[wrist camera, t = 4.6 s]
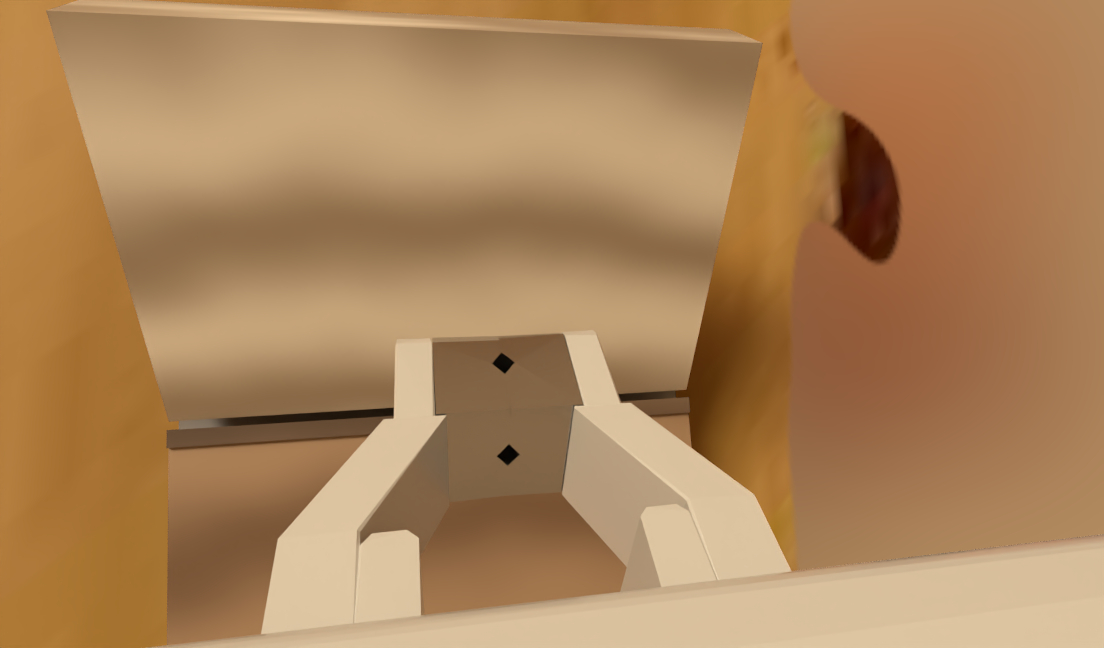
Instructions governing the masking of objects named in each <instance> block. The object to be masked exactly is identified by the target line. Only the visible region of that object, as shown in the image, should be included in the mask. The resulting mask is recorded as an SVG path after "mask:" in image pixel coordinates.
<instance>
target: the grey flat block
mask: <svg viewBox="0 0 1104 648" xmlns="http://www.w3.org/2000/svg"><path fill="white" fill-rule="evenodd" d="M618 395H619V398H620V401H621V403H632V404H633V405H635V406H636V407H637V408H639V409H640V410H641V411H643V412H644V413H645V414H647V415H648V416H649V417H651V418H652V419H653V420H655V421H656V422H657V423H659V424H660V425H661V426H663V427H664V428H665V429H667V430H668V431H669V432H671V433H672V434H673V435H675V436H676V437H677V438H679V439H680V440H681V441H683V442H684V443H686V444H687V445H688V446H690V447H691V435H690V424H689V413H688V412H690V403H689V397H683V398H676V393H675V390H674V391H658V392H642V393H625V394H618ZM383 419H394V408H380V409H364V410H348V411H331V412H315V413H299V414H282V415H266V416H250V417H233V418H217V419H201V420H184V421H179V430H167V448H169V480H168V588H167V645H174V644H183V643H191V642H199V641H208V640H216V639H225V638H233V637H242V636H250V635H259V634H261V631H262V625H263V620H264V614H265V609H266V603H267V597H268V592H269V586H270V580H271V575H272V569H273V563H274V558H275V552H276V546H277V541H278V538H279V537H280V536H281V535H282V534H283V533H284V532H285V530H286V529H287V528H288V527H289V526H290V525H291V524H292V522H293V521H294V520H295V519H296V518H297V517H298V516H299V514H300V513H301V512H302V511H303V510H304V509H305V508H306V507H307V505H308V504H309V503H310V502H311V501H312V500H313V499H314V497H315V496H316V495H317V494H318V493H319V492H320V491H321V490H322V488H323V487H324V486H325V485H326V484H327V483H328V482H329V480H330V479H331V478H332V477H333V476H334V475H335V474H336V473H337V471H338V470H339V469H340V468H341V467H342V466H343V465H344V463H345V462H346V461H347V460H348V459H349V458H350V457H351V456H352V454H353V453H354V452H355V451H356V450H357V449H358V448H359V446H360V445H361V444H362V443H363V442H364V441H365V440H366V439H367V437H368V436H369V435H370V434H371V433H372V432H373V431H374V429H375V428H376V427H377V426H378V425H379V424H380V423H381V422H382V420H383ZM691 448H692V447H691ZM420 559H421V573H422V586H423V599H424V612H425V615H427V614H436V613H444V612H453V611H461V610H470V609H478V608H487V607H495V606H504V605H512V604H521V603H529V602H538V601H546V600H555V599H563V598H572V597H580V596H589V595H597V594H606V593H614V592H620V591H621V587H622V583H623V579H624V576H625V572H626V568H627V567H626V566H625V564H624V563H623V562H622V561H621V560H620V559H619V558H618V557H617V556H616V554H615V553H614V552H613V551H612V550H611V549H610V548H609V547H608V546H607V544H606V543H605V542H604V541H603V540H602V539H601V538H600V537H599V535H598V534H597V533H596V532H595V531H594V530H593V529H592V528H591V527H590V525H589V524H588V523H587V522H586V521H585V520H584V519H583V518H582V517H581V515H580V514H579V513H578V512H577V511H576V510H575V509H574V508H573V506H572V505H571V504H570V503H569V502H568V501H567V500H566V499H565V498H564V496H563V495H562V492H557V493H541V494H525V495H509V496H499V497H490V498H482V499H473V500H465V501H456V502H449V507H448V509H447V511H446V513H445V514H444V516H443V518H442V520H441V521H440V523H439V525H438V527H437V528H436V530H435V532H434V534H433V535H432V537H431V539H430V541H429V542H428V544H427V546H426V548H425V549H424V551H423V553H422V555H421V556H420Z"/></svg>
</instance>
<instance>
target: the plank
mask: <svg viewBox="0 0 1104 648" xmlns="http://www.w3.org/2000/svg"><path fill="white" fill-rule="evenodd" d="M46 12H47V15H48V18H49V22H50V25H51V28H52V32H53V35H54V38H55V42H56V45H57V48H58V52H59V55H60V58H61V62H62V65H63V68H64V72H65V75H66V78H67V82H68V85H69V88H70V92H71V95H72V98H73V102H74V105H75V109H76V112H77V115H78V119H79V122H80V125H81V129H82V132H83V135H84V139H85V142H86V145H87V149H88V152H89V155H90V159H91V162H92V165H93V169H94V172H95V175H96V179H97V182H98V185H99V189H100V192H101V195H102V199H103V202H104V206H105V209H106V212H107V216H108V219H109V222H110V226H111V229H112V232H113V236H114V239H115V242H116V246H117V249H118V252H119V256H120V259H121V262H122V266H123V269H124V272H125V276H126V279H127V282H128V286H129V289H130V292H131V296H132V299H133V303H134V306H135V309H136V313H137V316H138V319H139V323H140V326H141V329H142V333H143V336H144V339H145V343H146V346H147V349H148V353H149V356H150V359H151V363H152V366H153V369H154V373H155V376H156V379H157V383H158V386H159V390H160V393H161V396H162V400H163V403H164V406H165V410H166V413H167V416H168V420H169V421H184V420H201V419H217V418H233V417H250V416H266V415H282V414H299V413H315V412H331V411H348V410H364V409H380V408H394V386H395V345H396V342H397V339H421V338H430V339H431V341H432V338H440V337H480V336H512V335H531V334H549V333H562V332H570V331H584V330H594V331H595V332H596V333H597V335H598V338H599V341H600V344H601V346H602V349H603V352H604V355H605V358H606V361H607V363H608V366H609V369H610V372H611V375H612V378H613V381H614V383H615V386H616V389H617V392H618V394H625V393H642V392H658V391H674V390H686V389H687V385H688V380H689V376H690V371H691V366H692V362H693V357H694V353H695V348H696V344H697V339H698V335H699V330H700V326H701V321H702V316H703V312H704V307H705V303H706V298H707V294H708V289H709V285H710V280H711V276H712V271H713V266H714V262H715V257H716V253H717V248H718V244H719V239H720V235H721V230H722V226H723V221H724V216H725V212H726V207H727V203H728V198H729V194H730V189H731V185H732V180H733V176H734V171H735V166H736V162H737V157H738V153H739V148H740V144H741V139H742V135H743V130H744V126H745V121H746V116H747V112H748V107H749V103H750V98H751V94H752V89H753V85H754V80H755V76H756V71H757V67H758V62H759V57H760V53H761V48H762V44H763V43H761V42H759V41H756V40H754V39H751V38H749V37H746V36H744V35H742V34H739V33H737V32H734V31H732V30H729V29H713V28H692V27H672V26H652V25H632V24H611V23H591V22H571V21H550V20H530V19H510V18H490V17H469V16H449V15H429V14H408V13H388V12H368V11H347V10H327V9H307V8H287V7H266V6H246V5H226V4H205V3H185V2H165V1H144V0H77V1H74V2H71V3H68V4H65V5H62V6H59V7H56V8H53V9H50V10H46ZM432 358H433V349H432ZM433 377H434V372H433Z"/></svg>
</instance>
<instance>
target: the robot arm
mask: <svg viewBox="0 0 1104 648" xmlns="http://www.w3.org/2000/svg"><path fill="white" fill-rule="evenodd" d="M432 349H433V358H432ZM433 372H434V377H433ZM557 492H562V495H563V496H564V498H565V499H566V500H567V501H568V502H569V503H570V504H571V505H572V506H573V508H574V509H575V510H576V511H577V512H578V513H579V514H580V515H581V517H582V518H583V519H584V520H585V521H586V522H587V523H588V524H589V525H590V527H591V528H592V529H593V530H594V531H595V532H596V533H597V534H598V535H599V537H600V538H601V539H602V540H603V541H604V542H605V543H606V544H607V546H608V547H609V548H610V549H611V550H612V551H613V552H614V553H615V554H616V556H617V557H618V558H619V559H620V560H621V561H622V562H623V563H624V564H625V566H626V567H627V568H626V572H625V576H624V579H623V583H622V587H621V591H620V592H614V593H606V594H597V595H589V596H580V597H572V598H563V599H555V600H546V601H538V602H529V603H521V604H512V605H504V606H495V607H487V608H478V609H470V610H461V611H453V612H444V613H436V614H427V615H425V612H424V599H423V586H422V573H421V559H420V556H421V555H422V553H423V551H424V549H425V548H426V546H427V544H428V542H429V541H430V539H431V537H432V535H433V534H434V532H435V530H436V528H437V527H438V525H439V523H440V521H441V520H442V518H443V516H444V514H445V513H446V511H447V509H448V507H449V502H456V501H465V500H473V499H482V498H490V497H499V496H509V495H525V494H541V493H557ZM149 648H1104V534H1102V535H1094V536H1085V537H1077V538H1068V539H1060V540H1051V541H1043V542H1034V543H1026V544H1017V545H1009V546H1000V547H992V548H984V549H975V550H967V551H958V552H950V553H941V554H933V555H924V556H916V557H908V558H900V559H891V560H883V561H874V562H865V563H857V564H848V565H840V566H832V567H823V568H814V569H806V570H798V571H791V569H790V567H789V565H788V563H787V561H786V559H785V557H784V555H783V553H782V551H781V549H780V547H779V545H778V543H777V541H776V538H775V536H774V534H773V532H772V530H771V528H770V526H769V524H768V522H767V520H766V518H765V516H764V514H763V512H762V510H761V508H760V505H759V503H758V501H757V499H756V497H755V495H754V494H753V493H751V492H750V491H749V490H747V489H746V488H745V487H743V486H742V485H741V484H739V483H738V482H737V481H735V480H734V479H732V478H731V477H730V476H728V475H727V474H726V473H724V472H723V471H722V470H720V469H719V468H718V467H716V466H715V465H714V464H712V463H711V462H710V461H708V460H707V459H706V458H704V457H703V456H702V455H700V454H699V453H698V452H696V451H695V450H694V449H692V448H691V447H690V446H688V445H687V444H686V443H684V442H683V441H681V440H680V439H679V438H677V437H676V436H675V435H673V434H672V433H671V432H669V431H668V430H667V429H665V428H664V427H663V426H661V425H660V424H659V423H657V422H656V421H655V420H653V419H652V418H651V417H649V416H648V415H647V414H645V413H644V412H643V411H641V410H640V409H639V408H637V407H636V406H635V405H633V404H632V403H621V401H620V398H619V395H618V392H617V389H616V386H615V383H614V381H613V378H612V375H611V372H610V369H609V366H608V363H607V361H606V358H605V355H604V352H603V349H602V346H601V344H600V341H599V338H598V335H597V333H596V332H595V331H594V330H584V331H570V332H562V333H549V334H531V335H512V336H480V337H440V338H432V341H431V339H430V338H421V339H397V342H396V345H395V386H394V419H383V420H382V422H381V423H380V424H379V425H378V426H377V427H376V428H375V429H374V431H373V432H372V433H371V434H370V435H369V436H368V437H367V439H366V440H365V441H364V442H363V443H362V444H361V445H360V446H359V448H358V449H357V450H356V451H355V452H354V453H353V454H352V456H351V457H350V458H349V459H348V460H347V461H346V462H345V463H344V465H343V466H342V467H341V468H340V469H339V470H338V471H337V473H336V474H335V475H334V476H333V477H332V478H331V479H330V480H329V482H328V483H327V484H326V485H325V486H324V487H323V488H322V490H321V491H320V492H319V493H318V494H317V495H316V496H315V497H314V499H313V500H312V501H311V502H310V503H309V504H308V505H307V507H306V508H305V509H304V510H303V511H302V512H301V513H300V514H299V516H298V517H297V518H296V519H295V520H294V521H293V522H292V524H291V525H290V526H289V527H288V528H287V529H286V530H285V532H284V533H283V534H282V535H281V536H280V537H279V538H278V541H277V546H276V552H275V558H274V563H273V569H272V575H271V580H270V586H269V592H268V597H267V603H266V609H265V614H264V620H263V625H262V631H261V634H259V635H250V636H242V637H233V638H225V639H216V640H208V641H199V642H191V643H183V644H174V645H166V646H157V647H149Z"/></svg>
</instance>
